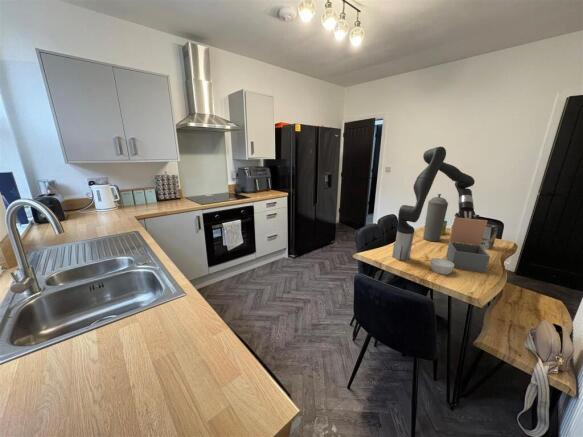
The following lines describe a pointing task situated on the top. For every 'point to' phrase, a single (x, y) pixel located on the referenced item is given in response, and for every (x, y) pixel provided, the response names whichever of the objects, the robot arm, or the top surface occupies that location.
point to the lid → (468, 231)
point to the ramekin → (441, 265)
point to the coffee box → (489, 236)
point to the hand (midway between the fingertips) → (467, 228)
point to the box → (468, 257)
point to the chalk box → (444, 228)
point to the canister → (435, 218)
